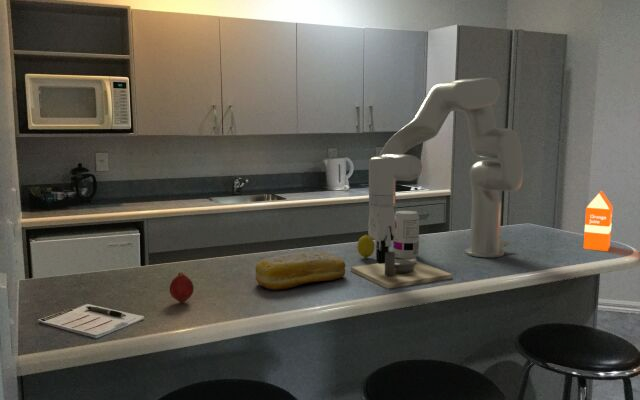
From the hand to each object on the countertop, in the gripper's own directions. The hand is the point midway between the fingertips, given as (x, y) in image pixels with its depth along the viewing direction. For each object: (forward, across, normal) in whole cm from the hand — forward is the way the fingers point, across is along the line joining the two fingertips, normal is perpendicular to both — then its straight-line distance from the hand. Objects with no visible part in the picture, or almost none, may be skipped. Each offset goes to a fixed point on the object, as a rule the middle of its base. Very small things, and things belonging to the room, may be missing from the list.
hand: (382, 262), depth 161 cm
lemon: (+5, -21, +2) cm, 22 cm away
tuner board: (+4, -1, +6) cm, 7 cm away
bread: (+4, -2, -24) cm, 24 cm away
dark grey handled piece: (+3, -1, +7) cm, 7 cm away
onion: (+3, +8, -57) cm, 57 cm away
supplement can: (+5, -20, +16) cm, 26 cm away
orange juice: (+6, -14, +87) cm, 88 cm away
